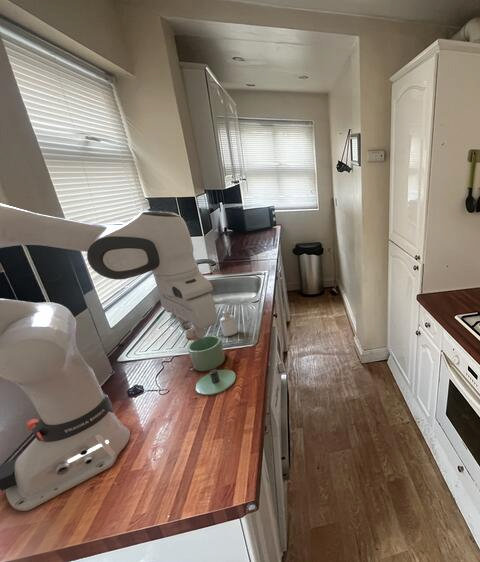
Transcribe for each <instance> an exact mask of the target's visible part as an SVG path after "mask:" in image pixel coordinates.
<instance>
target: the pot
mask: <svg viewBox="0 0 480 562" xmlns="http://www.w3.org/2000/svg"><path fill="white" fill-rule="evenodd" d="M187 351H188V355H189V358H190V362H191V365H192V367H193V370H195V371H197V372H204V371H206V372H207V371H211V370H213V369H216V368H218V367H219V366H221V365H222V364H223V363H224V362H225V360H226V355H225V351H224V348H223V343H222V340H221V337H220V336H218V335H212V334H211V335H204V336H203V337H202V338H200V339H198V340H196V341H190V343H189V344H188V345H187Z"/></svg>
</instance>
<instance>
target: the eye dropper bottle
mask: <svg viewBox="0 0 480 562" xmlns="http://www.w3.org/2000/svg"><path fill="white" fill-rule="evenodd" d="M221 314H222V316H221V318H219V323H220V327H221V331H222V332H221V333H222V336H223V337H231V336H234V335H236V334H238V326H237V322H236V318H235V316H234V315H232V314H230V311H229V310H227V308H226V307H225V308H223V311H222V313H221Z"/></svg>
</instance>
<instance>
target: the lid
mask: <svg viewBox="0 0 480 562" xmlns="http://www.w3.org/2000/svg"><path fill="white" fill-rule="evenodd" d="M236 379H237V375H236V373H235V372H234V371H233V370H230V369H216V368H213V369H210V370H209V373H207V374H204V375H203V376H202V377H201V378H200V379H199V380H198V381H197V382H196V384H195V392H196V393H197V394H198V395H201V396H215V395H218V394H220V393H222V392H224V391H226V390H228V389H229V388H230V387H232V386H233V385H234V383H235V381H236Z"/></svg>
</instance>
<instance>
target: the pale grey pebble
mask: <svg viewBox="0 0 480 562" xmlns="http://www.w3.org/2000/svg"><path fill="white" fill-rule="evenodd" d="M193 330H195V328H191V329H188V330H186V333H185V339H186V340H188V341H189V342H193V341H196V340H198V339H200V338H202V337H204V336H202V337H200V338H198V337H196V336H195V335H194V332H193ZM204 333H205V334H206V331H205V329H204Z"/></svg>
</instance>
